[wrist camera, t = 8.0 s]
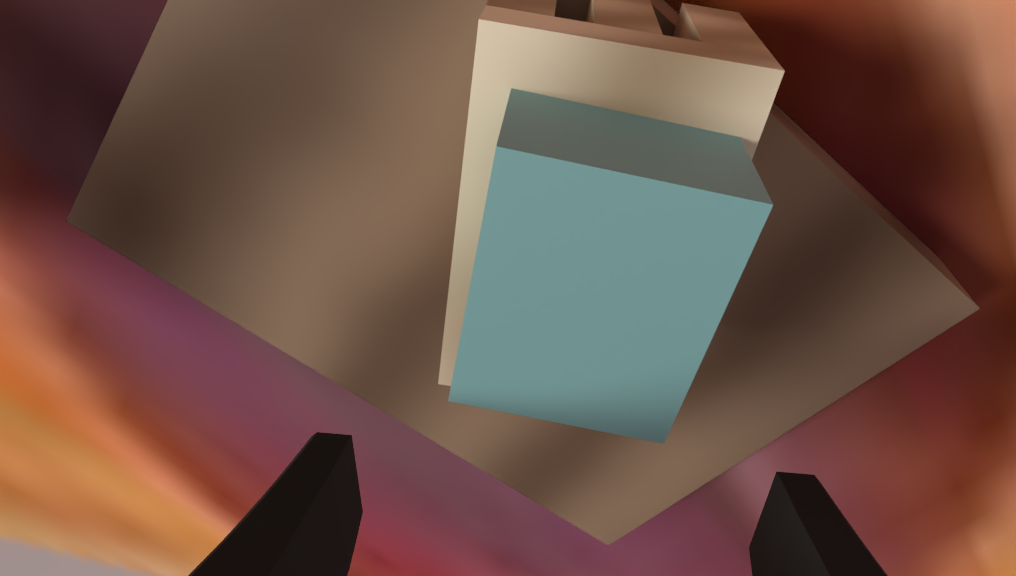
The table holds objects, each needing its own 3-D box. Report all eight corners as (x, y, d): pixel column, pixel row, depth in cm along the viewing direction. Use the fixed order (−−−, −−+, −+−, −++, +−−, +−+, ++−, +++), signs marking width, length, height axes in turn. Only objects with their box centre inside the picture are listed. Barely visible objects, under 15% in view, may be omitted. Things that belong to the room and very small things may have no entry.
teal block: (740, 137, 12) (773, 204, 10) (652, 355, 15) (663, 443, 13) (510, 88, 12) (495, 146, 10) (467, 318, 15) (448, 401, 13)
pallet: (738, 12, 14) (784, 70, 11) (643, 315, 19) (655, 419, 16) (501, -28, 14) (478, 19, 11) (462, 285, 19) (438, 384, 16)
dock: (939, 257, 20) (979, 308, 18) (606, 489, 27) (608, 545, 25) (350, -294, 14) (311, -312, 12) (116, 181, 21) (65, 221, 19)
